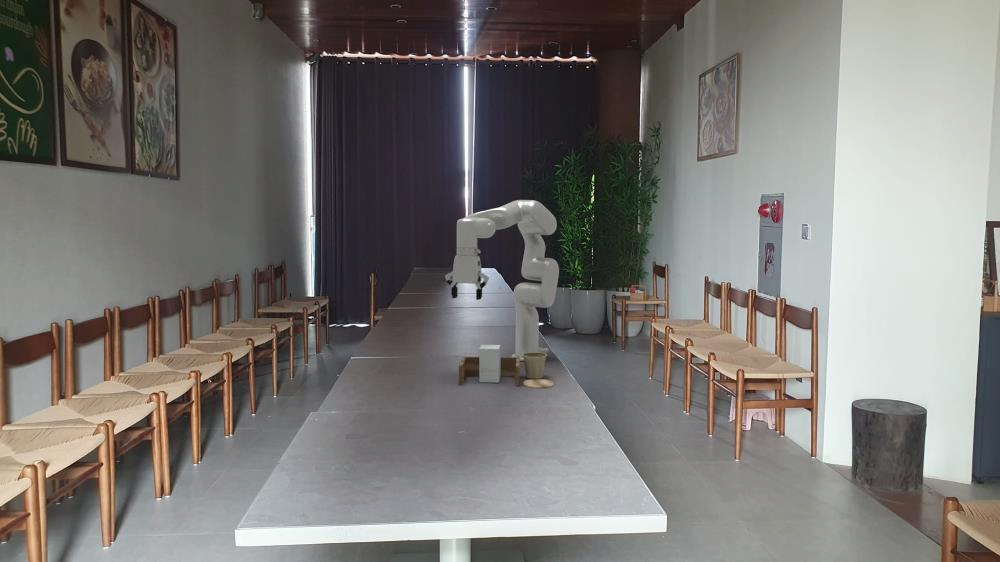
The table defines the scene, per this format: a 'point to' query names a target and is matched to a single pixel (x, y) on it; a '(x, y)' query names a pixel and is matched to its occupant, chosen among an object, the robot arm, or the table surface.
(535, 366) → the flower pot
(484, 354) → the supplement box
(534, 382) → the coaster
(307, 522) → the table surface
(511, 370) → the brown angled piece
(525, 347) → the robot arm
